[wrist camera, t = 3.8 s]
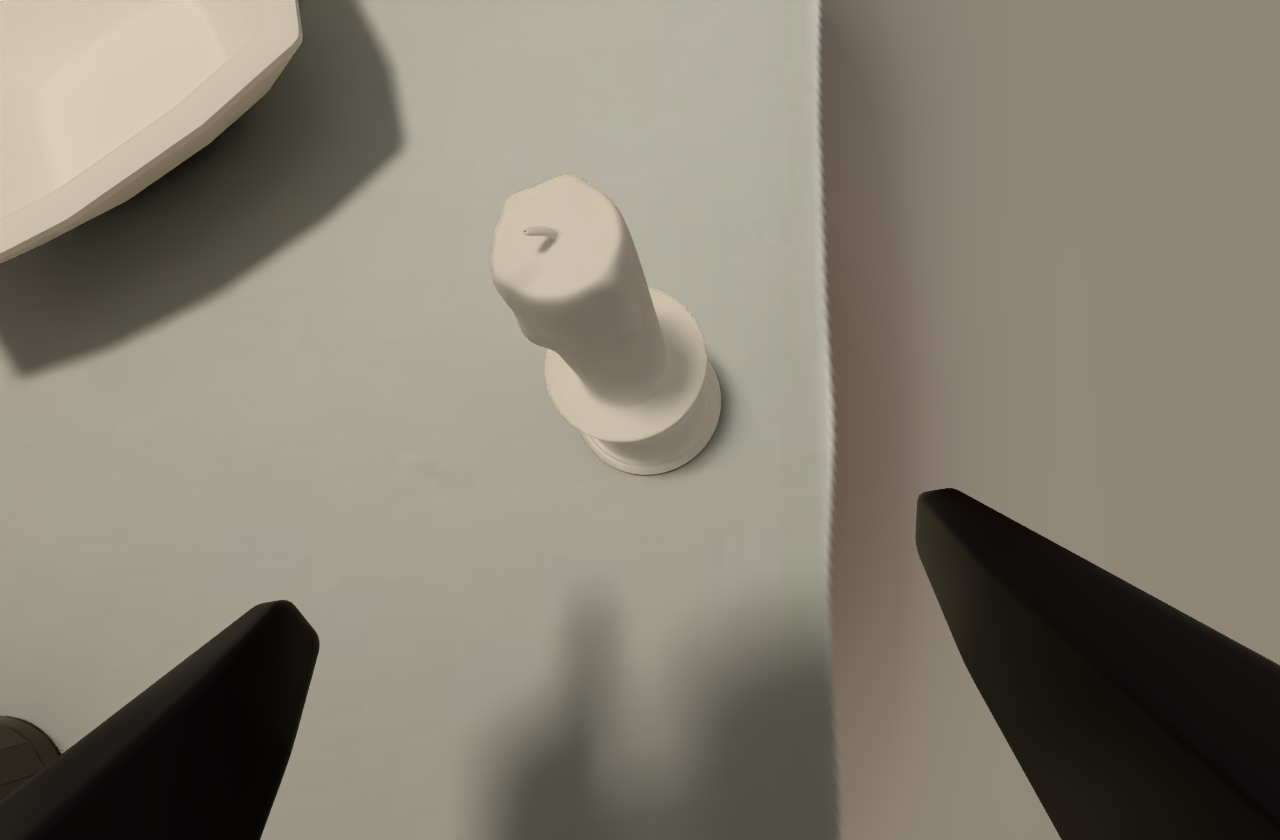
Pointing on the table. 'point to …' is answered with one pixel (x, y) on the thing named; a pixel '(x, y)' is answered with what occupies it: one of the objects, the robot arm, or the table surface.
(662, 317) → the candle
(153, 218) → the table surface
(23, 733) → the holder
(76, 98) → the bowl
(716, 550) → the table surface
